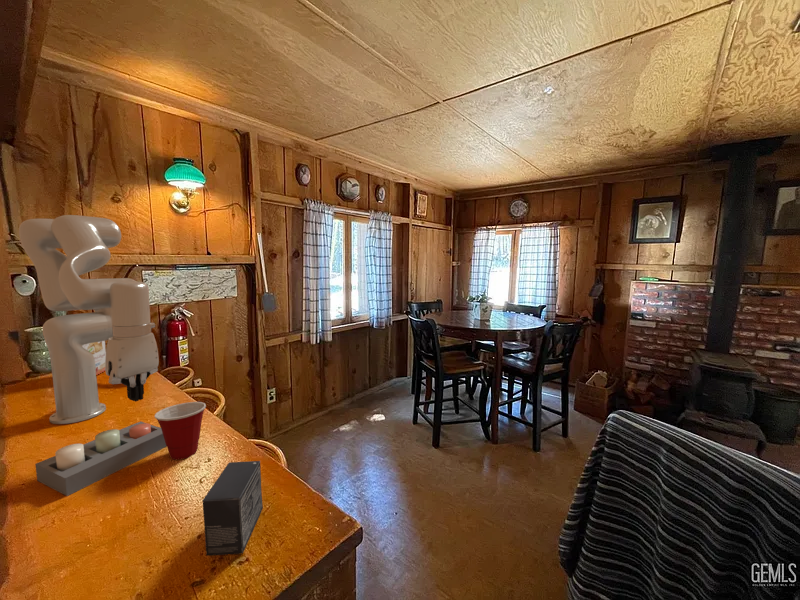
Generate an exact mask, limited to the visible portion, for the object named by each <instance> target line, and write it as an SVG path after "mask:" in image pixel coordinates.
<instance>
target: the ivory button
mask: <svg viewBox="0 0 800 600" xmlns="http://www.w3.org/2000/svg"><path fill="white" fill-rule="evenodd" d="M54 454H55V456H56V463H57V470H59V471H61V472H63V471H65V470H67V469H69V468H72V467H74V466H76V465H78V464H81V463H83V462H85V456H84V446H83V443H72V444H69V445H66V446H63V447H61V448H59V449H57V450H56V451H55V453H54Z"/></svg>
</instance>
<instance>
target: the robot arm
mask: <svg viewBox="0 0 800 600" xmlns="http://www.w3.org/2000/svg"><path fill="white" fill-rule="evenodd" d="M18 236H19V241H20V243H21V247H22V249H23V250H24V252H25V253H26V255H27V256H28V258H29V259H30V261H31V262H32V264H33V266H34V269H35V271H36V275H37V281H38V285H39V289H40V292H41V293H40V294H41V297H42V300H43V304H44V306H45V307H46V309H48V310H50V311H52V312H68V311H81V310H82V311H90V310H91V311H92V310H94V312H87V313H86V312H85V313H75V314H74V313H72V314H65V315H58V316H55V317H51V318H49V319H47V320H45V322H44V323H43V325H42V335H43V338H44V340H45V344H46V347H47V350H48V354H49V359H50V368H51V377H52V383H53V391H54V393H53V394H54V403H55V412H54V413H53V414H51V415H50V416H49V423H51V424H53V425H67V424H68V425H69V424H73V423H78V422H83V421H86V420H90V419H92V418H95V417H98V416H99V415H101V414H102V413H103V412H105V411H106V410H107V406H106V404H105V403H102V402H100V401H99V400H100V399H99V389H98V379H97V376H96V367H95V359H94V356H93V355H92V354H91V353H90V352H89V351H87V350H86V349H84V348H83V347H82V345H84V344H89V343H94V342H100V341H105V342H106V341H107V344H106V347H105V351H106V359H105V375H106V376H108V377H109V378H108V383H109V384H111V385H119V384H122V385H124V386H125V387H126V394H127V397H126V398H128V400H130V401H133V402H138V401H141V400H144V394H145V389H144V388H145V386H144V385H145V384H146V382H147V379H148V378H149V377H150V376H151V375H153V374H155V373H157V372H159V371H158V370H159V368H158V367H159V362H160V361H159V360H160V359H159V351H158V350H159V349H158V345H157V341H156V338H155V335H154V333H153V332H152V329H154V328H156V324H155V322H151V310H150V308H151V307H150V292H149V291H150V290H149V286H148V284H147V283H145V282H144V281H143V282H142V281H136V280H135V279H133V278H130V277H125V278H124V277H122V278H121V277H119V278H111V277H110V278H107V277H106V278H81V277H80V276H81V275H84V274H87V273H89V272H92V271H95V270H97V269H100V268H102V267H104V266H105V265H106V264H108V263H109V261H110V259H111V255H112V254H111V251H110V248H115V247H117V246H118V245H119V244H121V241H122V232H121V228H120V227H119V225H118V224H117V223H116V222H115V221H113V220H112V219H110V218H106V217H99V216H98V217H97V216H87V215H77V214H75V215H74V214H65V215H61V216H57V217H55V218H30V219H26V220H24V221H22V222H21V223H20V224H19V229H18ZM58 249H62V250H63V252H64V253H65V254H64V253H63V252H61V251H60V250H58ZM134 375H135V379H134Z"/></svg>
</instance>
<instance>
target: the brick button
mask: <svg viewBox="0 0 800 600" xmlns="http://www.w3.org/2000/svg"><path fill="white" fill-rule="evenodd" d="M151 425H152V424H151V423H147V422H144V424H139V425H135V426H133V427H131V428H130V429H129V434H130V438H133V439H137V438H139V437H142V436H144V435H146V434H149V433H151Z"/></svg>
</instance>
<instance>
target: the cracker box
mask: <svg viewBox="0 0 800 600" xmlns="http://www.w3.org/2000/svg"><path fill="white" fill-rule="evenodd" d="M82 347H83V348H84V349H86V350H87V351H89V352H90V353H91V354H92V355H93V356H94V359H95V367H96V375H97V376H99V375H101V374H103V373H105V372H106V371H105V359H106V341H100V342H94V343H89V344H84V345H82ZM104 371H105V372H104ZM102 372H103V373H102ZM100 373H101V374H100ZM98 374H99V375H98Z"/></svg>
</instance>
